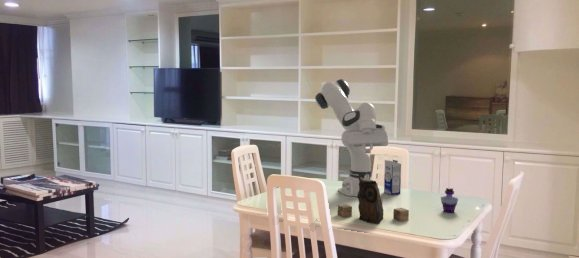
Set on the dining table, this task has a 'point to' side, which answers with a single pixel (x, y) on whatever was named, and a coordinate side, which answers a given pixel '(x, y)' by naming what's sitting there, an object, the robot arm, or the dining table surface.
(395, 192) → the milk carton
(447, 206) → the potion bottle
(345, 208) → the walnut block one
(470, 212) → the dining table surface
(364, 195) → the dark brown speaker
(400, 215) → the walnut block two
